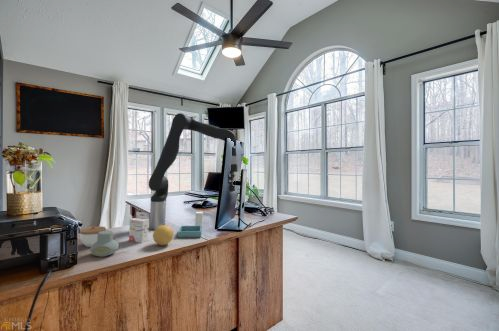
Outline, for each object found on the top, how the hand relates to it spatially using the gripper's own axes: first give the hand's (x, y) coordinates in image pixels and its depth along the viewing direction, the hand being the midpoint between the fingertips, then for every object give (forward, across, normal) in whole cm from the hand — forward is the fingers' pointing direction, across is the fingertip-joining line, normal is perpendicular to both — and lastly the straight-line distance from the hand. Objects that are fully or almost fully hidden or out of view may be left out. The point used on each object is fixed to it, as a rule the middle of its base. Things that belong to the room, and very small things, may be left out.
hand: (232, 191), depth 138 cm
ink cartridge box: (+23, +15, -50) cm, 57 cm away
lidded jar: (+22, +24, -68) cm, 75 cm away
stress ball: (+25, +19, -34) cm, 46 cm away
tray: (+24, 0, -26) cm, 36 cm away
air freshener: (+24, +34, -55) cm, 69 cm away
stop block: (+23, -16, -25) cm, 38 cm away
